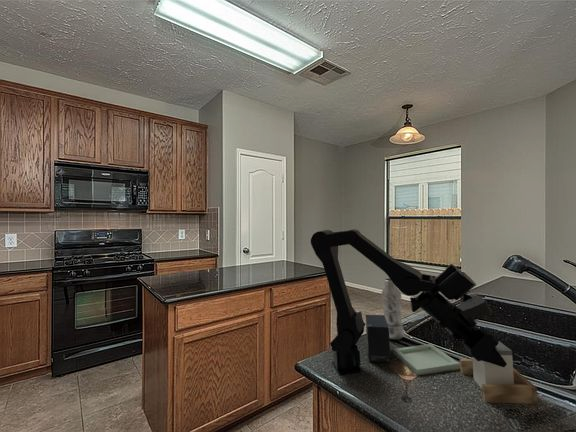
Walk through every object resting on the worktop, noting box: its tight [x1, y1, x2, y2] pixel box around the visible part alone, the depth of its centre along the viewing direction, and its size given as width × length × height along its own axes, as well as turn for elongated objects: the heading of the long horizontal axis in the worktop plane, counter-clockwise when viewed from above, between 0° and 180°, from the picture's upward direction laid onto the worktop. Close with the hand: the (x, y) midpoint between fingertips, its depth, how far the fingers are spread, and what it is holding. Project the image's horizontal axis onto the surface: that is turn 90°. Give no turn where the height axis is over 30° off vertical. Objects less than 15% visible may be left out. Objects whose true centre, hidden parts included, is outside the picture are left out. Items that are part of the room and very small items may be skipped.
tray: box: [392, 343, 461, 376], centre depth 85 cm, size 12×12×2 cm
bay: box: [459, 358, 539, 405], centre depth 71 cm, size 10×12×4 cm
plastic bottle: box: [380, 277, 405, 341], centre depth 101 cm, size 6×7×20 cm
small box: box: [364, 314, 391, 363], centre depth 91 cm, size 11×6×10 cm, turn 168°
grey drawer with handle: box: [471, 340, 514, 389], centre depth 71 cm, size 6×6×11 cm
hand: (494, 355), depth 71 cm, fingers open, 9 cm apart
